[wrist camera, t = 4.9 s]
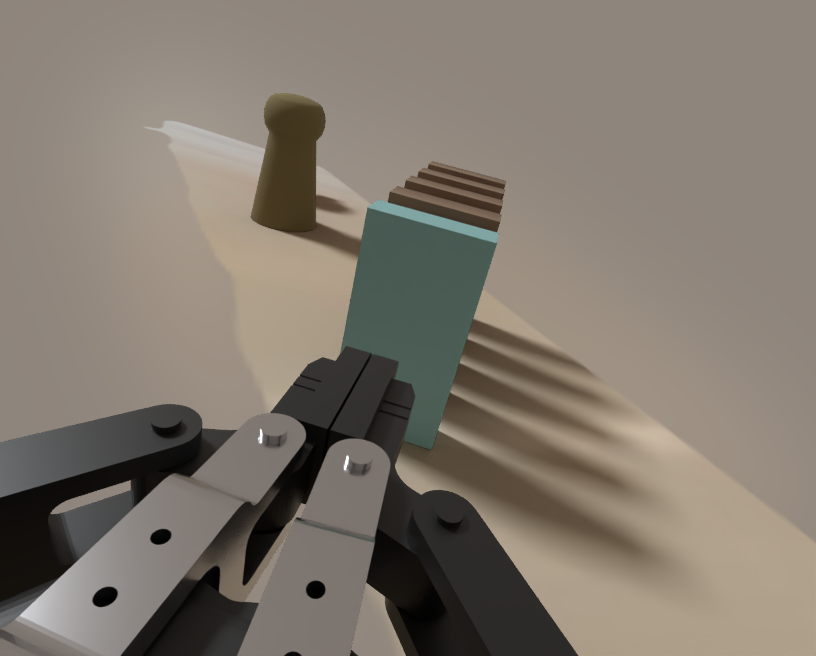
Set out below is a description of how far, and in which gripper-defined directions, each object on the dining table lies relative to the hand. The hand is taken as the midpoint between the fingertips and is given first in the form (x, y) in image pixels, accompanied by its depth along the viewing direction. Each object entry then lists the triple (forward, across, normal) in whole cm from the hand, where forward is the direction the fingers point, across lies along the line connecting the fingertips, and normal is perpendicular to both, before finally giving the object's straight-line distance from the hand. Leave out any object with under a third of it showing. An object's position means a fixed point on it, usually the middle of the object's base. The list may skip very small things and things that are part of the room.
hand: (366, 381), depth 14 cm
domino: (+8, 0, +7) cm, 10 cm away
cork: (+32, +16, +7) cm, 37 cm away
